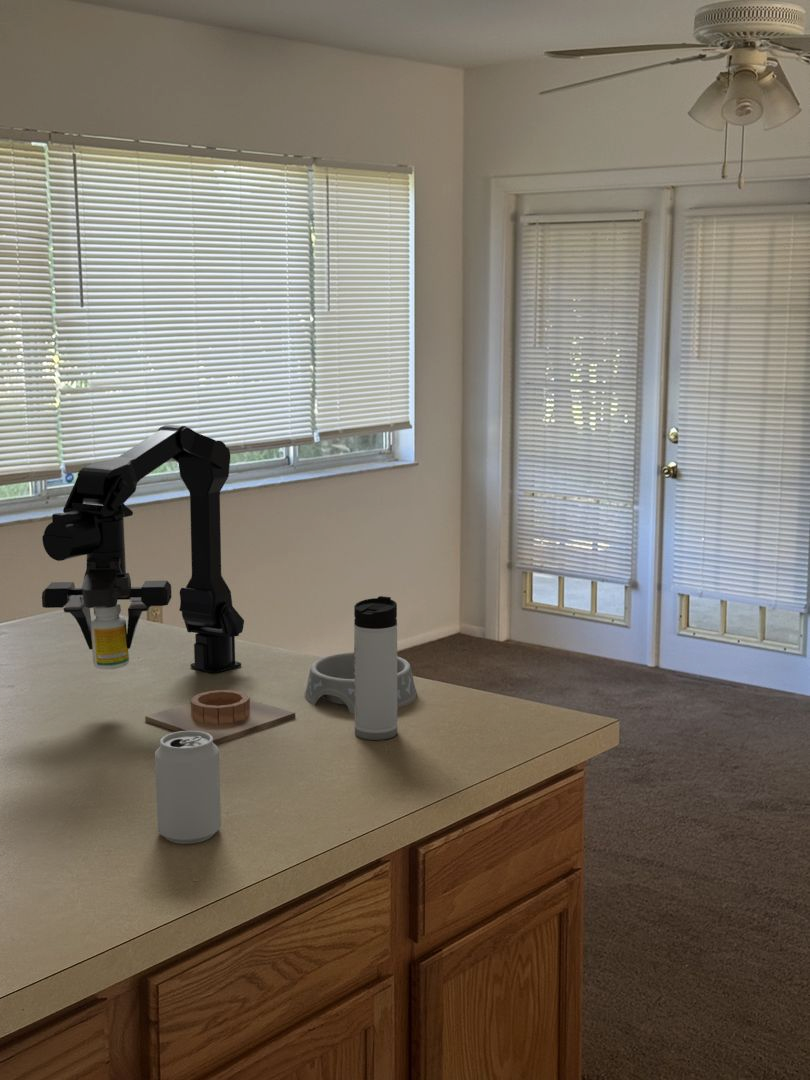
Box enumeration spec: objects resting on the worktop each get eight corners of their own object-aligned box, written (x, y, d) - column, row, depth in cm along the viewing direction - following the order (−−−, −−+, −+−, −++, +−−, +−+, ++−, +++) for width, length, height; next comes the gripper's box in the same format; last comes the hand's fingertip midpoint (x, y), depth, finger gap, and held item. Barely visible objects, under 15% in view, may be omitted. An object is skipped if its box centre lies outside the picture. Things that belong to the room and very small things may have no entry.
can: (161, 821, 153) (157, 727, 151) (223, 819, 154) (220, 726, 152) (154, 847, 146) (150, 749, 144) (219, 845, 146) (216, 747, 144)
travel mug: (405, 729, 186) (405, 598, 183) (385, 743, 181) (385, 608, 177) (367, 723, 189) (366, 594, 185) (347, 736, 183) (346, 603, 179)
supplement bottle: (88, 665, 194) (82, 605, 192) (119, 658, 197) (114, 598, 196) (103, 672, 190) (98, 610, 188) (135, 664, 193) (130, 604, 191)
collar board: (225, 696, 202) (225, 676, 201) (295, 717, 192) (295, 697, 191) (145, 721, 190) (144, 700, 189) (215, 745, 180) (214, 723, 179)
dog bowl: (382, 721, 191) (381, 687, 190) (283, 702, 200) (282, 669, 199) (435, 691, 206) (435, 659, 205) (341, 675, 215) (341, 644, 214)
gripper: (31, 560, 182) (37, 664, 185) (161, 558, 183) (165, 662, 186) (47, 546, 193) (52, 644, 196) (170, 544, 194) (173, 642, 197)
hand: (110, 648), depth 193 cm, fingers closed on supplement bottle, 5 cm apart
